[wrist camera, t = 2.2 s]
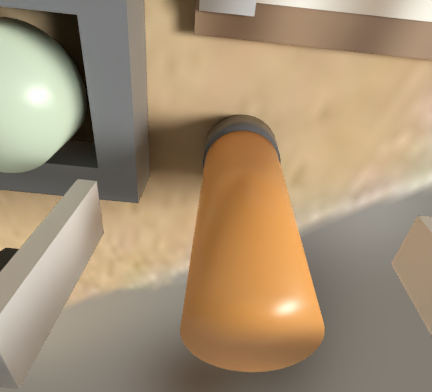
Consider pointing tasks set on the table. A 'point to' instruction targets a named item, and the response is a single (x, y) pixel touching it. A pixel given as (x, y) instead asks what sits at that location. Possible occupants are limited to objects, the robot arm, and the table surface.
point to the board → (324, 24)
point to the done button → (36, 96)
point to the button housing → (101, 104)
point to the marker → (248, 259)
